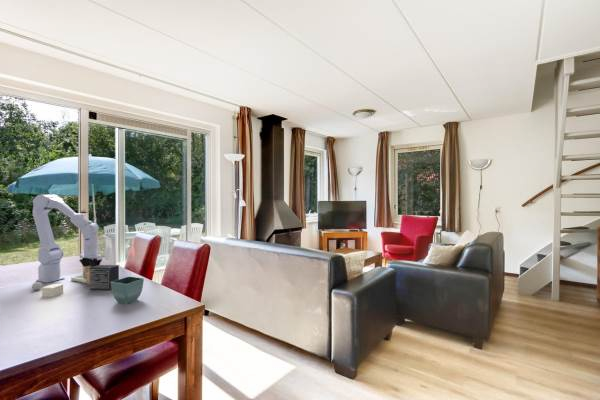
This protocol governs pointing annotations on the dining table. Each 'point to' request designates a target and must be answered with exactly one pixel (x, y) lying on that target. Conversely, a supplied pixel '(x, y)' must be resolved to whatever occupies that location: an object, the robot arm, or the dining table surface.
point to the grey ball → (37, 286)
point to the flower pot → (127, 289)
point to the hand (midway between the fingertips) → (90, 272)
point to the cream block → (52, 290)
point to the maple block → (86, 271)
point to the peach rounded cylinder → (88, 279)
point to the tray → (79, 279)
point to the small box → (103, 276)
